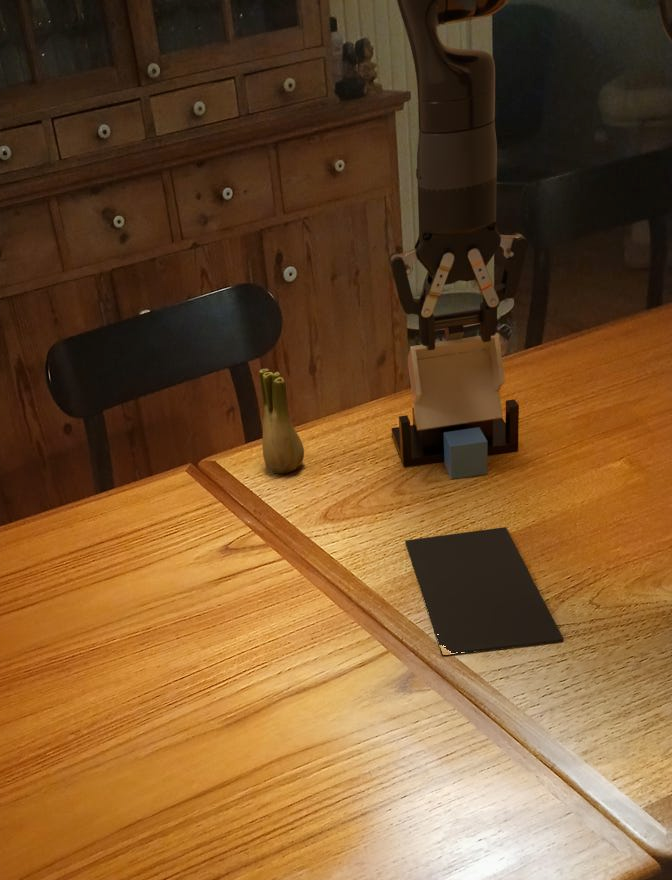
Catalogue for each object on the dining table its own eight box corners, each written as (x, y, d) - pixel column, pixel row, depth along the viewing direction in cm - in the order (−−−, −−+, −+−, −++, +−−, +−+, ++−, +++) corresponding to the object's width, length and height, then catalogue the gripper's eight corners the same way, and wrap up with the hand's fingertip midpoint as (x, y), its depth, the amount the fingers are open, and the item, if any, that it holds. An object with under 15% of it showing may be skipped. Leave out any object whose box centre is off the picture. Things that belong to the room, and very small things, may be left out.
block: (479, 426, 110) (487, 441, 107) (479, 459, 112) (487, 474, 109) (443, 432, 111) (450, 446, 107) (444, 464, 113) (451, 479, 109)
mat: (505, 529, 99) (505, 526, 98) (563, 641, 82) (563, 638, 82) (405, 542, 100) (405, 540, 100) (442, 656, 83) (441, 653, 83)
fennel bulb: (266, 460, 122) (253, 366, 115) (306, 455, 121) (295, 360, 114) (264, 480, 117) (250, 383, 111) (305, 476, 116) (294, 378, 110)
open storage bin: (488, 325, 112) (500, 302, 105) (501, 418, 111) (514, 401, 104) (404, 339, 113) (410, 316, 106) (416, 431, 112) (423, 414, 105)
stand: (498, 419, 120) (499, 376, 117) (518, 451, 112) (519, 405, 109) (391, 435, 122) (389, 392, 119) (403, 467, 114) (401, 422, 111)
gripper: (388, 196, 94) (396, 366, 104) (542, 170, 93) (535, 345, 102) (377, 180, 100) (386, 342, 110) (521, 155, 99) (517, 322, 108)
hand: (457, 343), depth 106 cm, fingers closed on open storage bin, 5 cm apart
